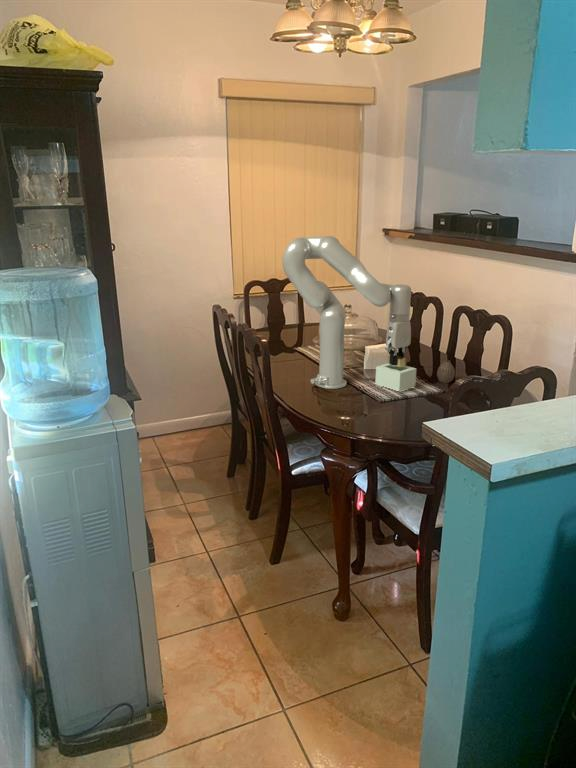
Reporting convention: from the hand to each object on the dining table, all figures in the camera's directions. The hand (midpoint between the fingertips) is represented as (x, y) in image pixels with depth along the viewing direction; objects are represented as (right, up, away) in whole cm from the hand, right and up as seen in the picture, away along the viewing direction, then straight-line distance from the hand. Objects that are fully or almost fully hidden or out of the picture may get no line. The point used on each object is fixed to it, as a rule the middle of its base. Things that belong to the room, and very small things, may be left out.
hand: (396, 363), depth 222 cm
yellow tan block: (0, 0, 0) cm, 1 cm away
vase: (+22, -7, +10) cm, 25 cm away
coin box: (0, -9, +3) cm, 10 cm away
